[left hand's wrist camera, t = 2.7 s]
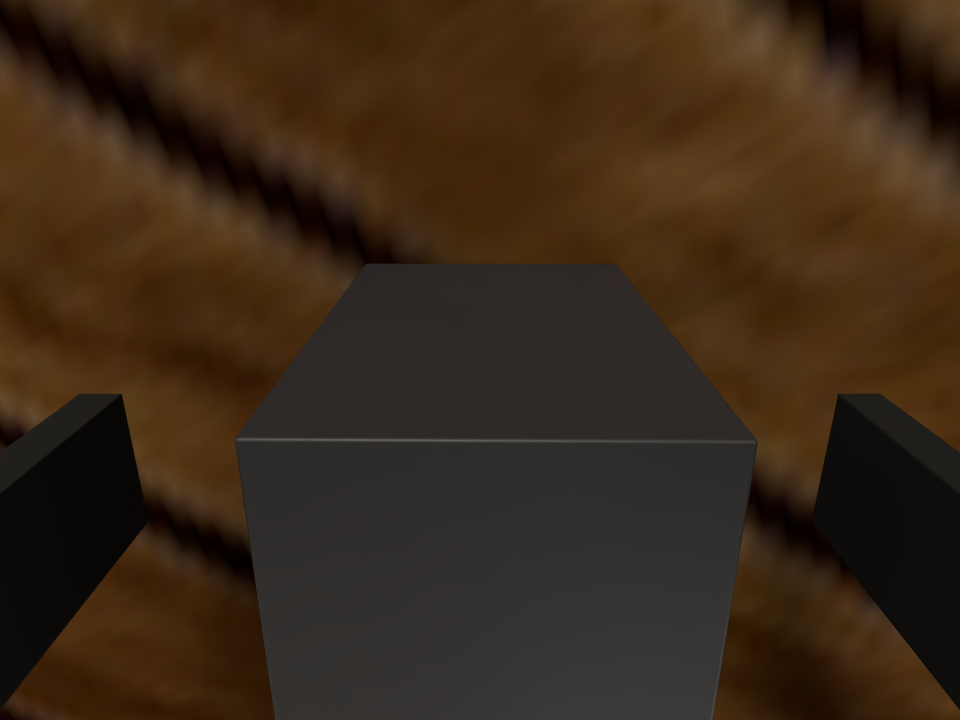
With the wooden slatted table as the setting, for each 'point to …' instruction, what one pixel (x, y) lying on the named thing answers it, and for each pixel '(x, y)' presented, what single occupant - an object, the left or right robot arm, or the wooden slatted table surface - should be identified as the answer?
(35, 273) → the wooden slatted table surface
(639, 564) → the bar
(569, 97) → the wooden slatted table surface
